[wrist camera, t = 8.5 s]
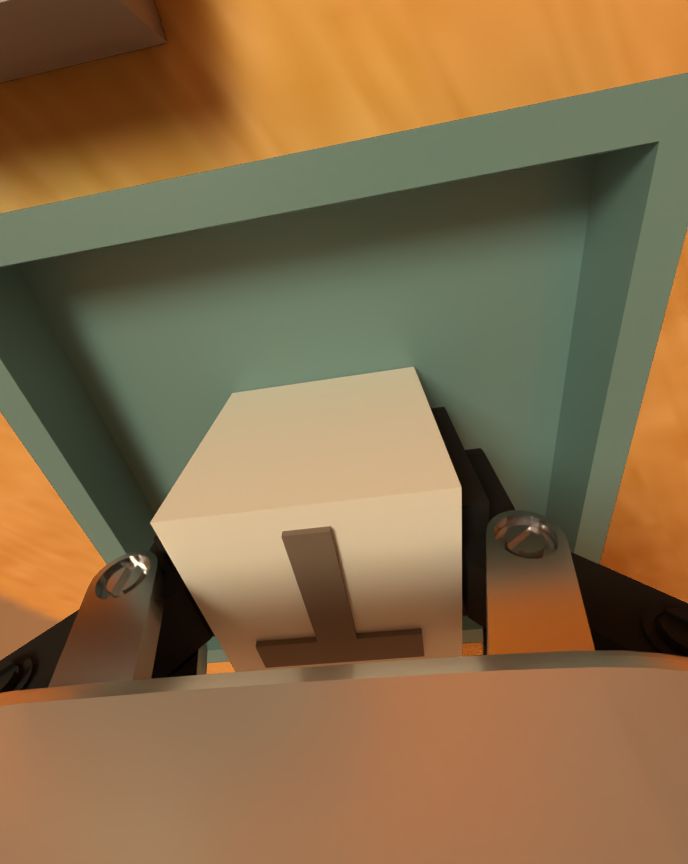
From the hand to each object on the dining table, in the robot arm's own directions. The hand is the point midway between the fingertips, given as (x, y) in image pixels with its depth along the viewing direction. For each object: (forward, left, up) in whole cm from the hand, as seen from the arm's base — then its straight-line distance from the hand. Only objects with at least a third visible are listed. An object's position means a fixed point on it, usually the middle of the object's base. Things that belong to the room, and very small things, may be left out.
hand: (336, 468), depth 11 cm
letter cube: (0, 0, -1) cm, 1 cm away
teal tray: (0, 0, -1) cm, 1 cm away
